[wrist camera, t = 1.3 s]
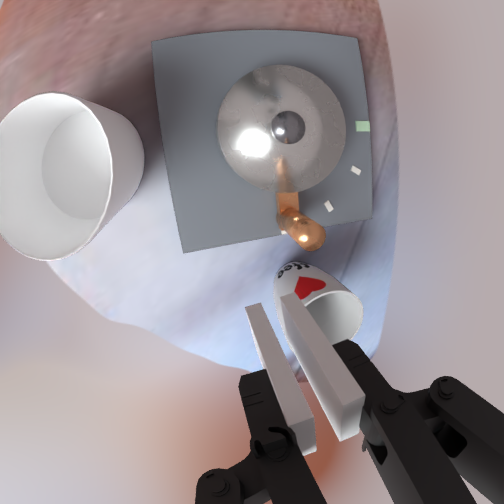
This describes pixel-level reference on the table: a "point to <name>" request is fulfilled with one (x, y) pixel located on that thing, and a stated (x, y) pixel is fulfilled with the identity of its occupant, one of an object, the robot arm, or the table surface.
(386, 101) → the table surface
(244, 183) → the board
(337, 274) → the table surface
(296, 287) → the cup
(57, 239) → the cup
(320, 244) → the dial
